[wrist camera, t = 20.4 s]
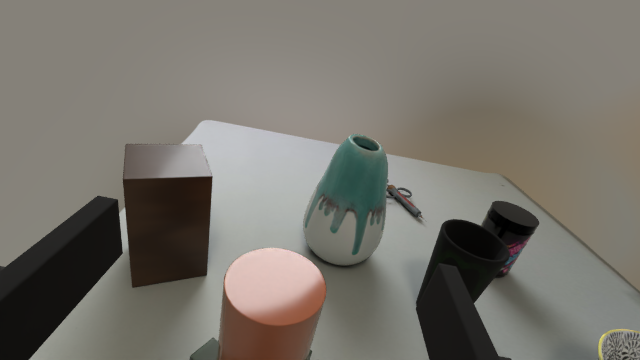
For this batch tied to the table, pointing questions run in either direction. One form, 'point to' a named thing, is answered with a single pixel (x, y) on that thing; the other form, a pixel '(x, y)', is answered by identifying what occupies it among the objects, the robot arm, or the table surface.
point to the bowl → (619, 345)
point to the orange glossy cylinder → (270, 306)
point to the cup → (468, 255)
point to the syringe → (403, 199)
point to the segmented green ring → (213, 351)
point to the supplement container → (510, 229)
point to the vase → (349, 203)
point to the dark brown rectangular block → (167, 211)
